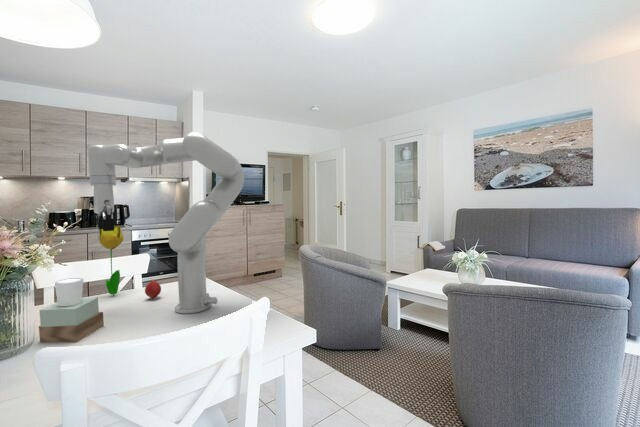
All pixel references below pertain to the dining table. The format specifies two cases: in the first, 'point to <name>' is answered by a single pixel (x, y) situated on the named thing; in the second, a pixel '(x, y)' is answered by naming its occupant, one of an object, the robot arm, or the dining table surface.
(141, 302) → the dining table surface
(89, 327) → the tower base block
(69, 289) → the white cup
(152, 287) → the onion
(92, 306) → the tower top block
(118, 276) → the flower
